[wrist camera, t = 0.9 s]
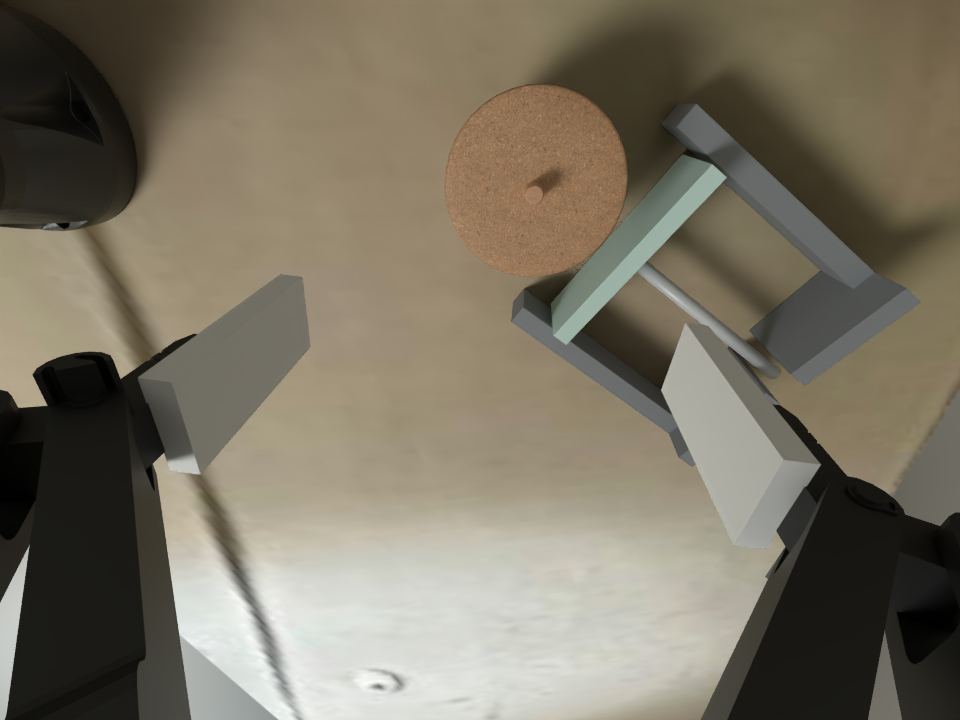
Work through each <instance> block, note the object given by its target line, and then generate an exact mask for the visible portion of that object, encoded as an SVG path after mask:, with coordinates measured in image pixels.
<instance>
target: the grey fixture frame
mask: <svg viewBox="0 0 960 720" xmlns="http://www.w3.org/2000/svg"><path fill="white" fill-rule="evenodd" d="M661 125H662V126H663V127H664V128H665V129H666V130H667V131H668V132H670V133H671V134H672V135H673V136H674V137H675V138H676V139H677V140H678V141H679V142H681V143H682V144H683V145H684V146H685V147H686V148H687V149H688V150H689V151H690V152H692V153H693V154H694V155H695V156H696V157H697V158H698V159H699V160H701V161H704V162H707V163H710V164H713V165H714V166H715V167H716V168H717V169H718V170H719V171H720V172H721V173H722V174H724V175H725V176H726V177H727V178H726V179H725V180H724V181H723V182H724V183H726V184H727V185H728V186H729V187H730V188H731V189H732V190H733V191H734V192H735V193H737V194H738V195H739V196H740V197H741V198H742V199H743V200H744V201H745V202H746V203H748V204H749V205H750V206H751V207H752V208H753V209H754V210H755V211H756V212H757V213H758V214H760V215H761V216H762V217H763V218H764V219H765V220H766V221H767V222H768V223H769V224H771V225H772V226H773V227H774V228H775V229H776V230H777V231H778V232H779V233H780V234H782V235H783V236H784V237H785V238H786V239H787V240H788V241H789V242H790V243H791V244H793V245H794V246H795V247H796V248H797V249H798V250H799V251H800V252H801V253H802V254H804V255H805V256H806V257H807V258H808V259H809V260H810V261H811V262H812V263H813V264H814V265H816V266H817V267H818V268H819V269H820V270H821V271H820V272H819V273H818V274H816V275H815V276H814V277H813V278H812V279H810V280H809V281H808V282H807V283H806V284H804V285H803V286H802V287H801V288H800V289H798V290H797V291H796V292H795V293H794V294H792V295H791V296H790V297H789V298H788V299H786V300H785V301H784V302H783V303H782V304H780V305H779V306H778V307H777V308H776V309H774V310H773V311H772V312H771V313H770V314H768V315H767V316H766V317H765V318H764V319H762V320H761V321H760V322H759V323H758V324H756V325H755V326H754V327H753V328H752V329H750V330H749V331H750V332H751V333H752V334H753V335H754V336H755V337H756V339H757V340H758V341H759V342H760V343H761V344H762V345H763V346H764V347H765V348H766V349H767V350H768V351H769V352H770V353H771V354H772V355H773V356H774V357H775V358H776V360H777V361H778V362H779V363H780V364H781V365H782V366H783V367H784V368H785V369H786V370H787V371H788V372H789V373H790V374H791V375H792V376H793V377H794V378H796V379H797V380H798V381H799V382H801V383H802V384H803V385H804V386H805V385H807V384H808V383H809V382H811V381H812V380H814V379H815V378H816V377H818V376H819V375H821V374H822V373H823V372H825V371H826V370H828V369H829V368H830V367H832V366H833V365H835V364H836V363H837V362H839V361H840V360H842V359H843V358H844V357H846V356H847V355H848V354H850V353H851V352H853V351H854V350H855V349H857V348H858V347H860V346H861V345H862V344H864V343H865V342H867V341H868V340H869V339H871V338H872V337H874V336H875V335H876V334H878V333H879V332H881V331H882V330H883V329H885V328H886V327H888V326H889V325H890V324H892V323H893V322H894V321H896V320H897V319H899V318H900V317H901V316H903V315H904V314H906V313H907V312H908V311H910V310H911V309H913V308H914V307H915V306H917V305H918V304H920V303H921V301H920V300H918V299H917V298H916V297H915V296H914V295H913V294H912V293H911V292H910V291H909V290H908V289H907V288H905V287H903V286H901V285H899V284H897V283H895V282H893V281H891V280H889V279H887V278H885V277H883V276H881V275H879V274H877V273H875V272H874V271H873V270H872V269H870V268H869V267H868V266H867V265H866V264H865V263H864V262H863V261H862V260H861V259H860V258H859V257H858V256H857V255H856V254H855V253H854V252H853V251H851V250H850V249H849V248H848V247H847V246H846V245H845V244H844V243H843V242H842V241H841V240H840V239H839V238H838V237H837V236H836V235H835V234H834V233H832V232H831V231H830V230H829V229H828V228H827V227H826V226H825V225H824V224H823V223H822V222H821V221H820V220H819V219H818V218H817V217H816V216H815V215H813V214H812V213H811V212H810V211H809V210H808V209H807V208H806V207H805V206H804V205H803V204H802V203H801V202H800V201H799V200H798V199H797V198H795V197H794V196H793V195H792V194H791V193H790V192H789V191H788V190H787V189H786V188H785V187H784V186H783V185H782V184H781V183H780V182H779V181H778V180H776V179H775V178H774V177H773V176H772V175H771V174H770V173H769V172H768V171H767V170H766V169H765V168H764V167H763V166H762V165H761V164H760V163H759V162H757V161H756V160H755V159H754V158H753V157H752V156H751V155H750V154H749V153H748V152H747V151H746V150H745V149H744V148H743V147H742V146H741V145H740V144H738V143H737V142H736V141H735V140H734V139H733V138H732V137H731V136H730V135H729V134H728V133H727V132H726V131H725V130H724V129H723V128H722V127H721V126H719V125H718V124H717V123H716V122H715V121H714V120H713V119H712V118H711V117H710V116H709V115H708V114H707V113H706V112H705V111H704V110H703V109H702V108H700V107H699V106H698V105H697V104H677V105H676V106H675V108H674V109H673V110H672V111H671V112H670V114H669V115H668V116H667V117H666V118H665V120H664V121H663V122H662V123H661ZM511 322H513V323H514V324H515V325H517V326H518V327H520V328H521V329H522V330H524V331H525V332H527V333H528V334H529V335H531V336H532V337H534V338H535V339H537V340H538V341H539V342H541V343H542V344H544V345H545V346H546V347H548V348H549V349H551V350H552V351H553V352H555V353H556V354H558V355H559V356H560V357H562V358H563V359H565V360H566V361H568V362H569V363H570V364H572V365H573V366H575V367H576V368H577V369H579V370H580V371H582V372H583V373H584V374H586V375H587V376H589V377H590V378H591V379H593V380H594V381H596V382H597V383H599V384H600V385H601V386H603V387H604V388H606V389H607V390H608V391H610V392H611V393H613V394H614V395H615V396H617V397H618V398H620V399H621V400H622V401H624V402H625V403H627V404H628V405H629V406H631V407H632V408H634V409H635V410H637V411H638V412H639V413H641V414H642V415H644V416H645V417H646V418H648V419H649V420H651V421H652V422H653V423H655V424H656V425H658V426H659V427H660V428H662V429H663V430H665V431H666V432H668V433H669V435H670V437H671V440H672V442H673V444H674V447H675V449H676V452H677V454H678V457H679V458H680V459H682V460H683V461H685V462H686V463H688V464H689V465H690V466H694V465H695V462H694V460H693V457H692V455H691V453H690V451H689V449H688V447H687V445H686V442H685V440H684V438H683V436H682V434H681V432H680V430H679V427H678V425H677V423H676V421H675V419H674V417H673V415H672V413H671V410H670V408H669V406H668V404H667V402H666V400H665V398H664V395H663V393H662V391H661V389H660V388H659V387H657V386H656V385H654V384H653V383H652V382H650V381H649V380H648V379H646V378H645V377H644V376H642V375H641V374H640V373H638V372H637V371H635V370H634V369H633V368H631V367H630V366H629V365H627V364H626V363H625V362H623V361H622V360H620V359H619V358H618V357H616V356H615V355H614V354H612V353H611V352H610V351H608V350H607V349H606V348H604V347H603V346H601V345H600V344H599V343H597V342H596V341H595V340H593V339H592V338H591V337H589V336H588V335H586V334H585V333H584V332H582V331H581V330H580V331H579V332H578V333H577V334H576V335H575V336H574V337H573V338H572V339H571V340H570V341H569V343H568V344H567V345H566V344H564V343H563V342H561V341H560V340H559V339H557V338H556V337H555V336H553V326H552V314H551V308H550V307H548V306H547V305H546V304H544V303H543V302H542V301H540V300H539V299H538V298H536V297H535V296H533V295H532V294H531V293H529V292H528V291H527V290H525V289H524V290H523V291H522V292H521V293H520V294H519V296H518V297H517V298H516V299H515V300H514V302H513V309H512V319H511ZM727 349H728V351H729V352H730V353H731V354H732V355H733V357H734V358H735V359H736V360H737V362H738V363H739V364H740V365H741V367H742V368H743V369H744V370H745V372H746V373H747V374H748V375H749V376H750V378H751V379H752V380H753V381H754V383H755V384H756V385H757V386H758V388H759V389H760V390H761V391H762V393H763V394H764V395H765V396H766V397H767V399H768V400H769V401H770V402H771V404H774V405H779V402H778V401H777V400H776V399H775V398H774V396H773V395H772V394H771V393H770V391H769V390H768V389H767V388H766V387H765V385H764V384H763V383H762V382H761V381H760V379H759V378H758V377H757V376H756V374H755V373H754V372H753V371H752V370H751V368H750V367H749V366H748V365H747V363H746V362H745V361H744V360H743V359H742V357H741V356H739V355H738V354H737V353H736V352H734V351H733V350H732V349H731V348H727Z"/></svg>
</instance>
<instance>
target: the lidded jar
mask: <svg viewBox="0 0 960 720" xmlns="http://www.w3.org/2000/svg"><path fill="white" fill-rule="evenodd" d="M627 185H628V166H627V159H626V154H625V149H624V146H623V143H622V141H621V138H620V136H619V133H618V131H617V130H616V128H615V126H614V125H613V123H612V121H611V120H610V119H609V117H608V116H607V115H606V114H605V113H604V112H603V110H602V109H601V108H600V107H599V106H597V105H596V104H595V103H594V102H593V101H591V100H590V99H589V98H587V97H585V96H584V95H582V94H580V93H578V92H576V91H574V90H571V89H568V88H565V87H562V86H558V85H550V84H529V85H524V86H520V87H516V88H512V89H510V90H507V91H505V92H503V93H500V94H498V95H496V96H495V97H493V98H492V99H490V100H489V101H487V102H486V103H484V104H483V105H482V106H481V107H480V108H479V109H478V110H477V111H476V112H474V113H473V114H472V115H471V117H470V118H469V119H468V121H467V122H466V123H465V124H464V126H463V127H462V129H461V130H460V132H459V134H458V136H457V138H456V139H455V141H454V144H453V147H452V149H451V152H450V155H449V158H448V163H447V168H446V177H445V193H446V202H447V206H448V210H449V214H450V217H451V219H452V222H453V225H454V227H455V229H456V231H457V232H458V234H459V236H460V237H461V239H462V240H463V242H464V243H465V244H466V245H467V247H468V248H469V249H470V250H471V251H472V252H473V253H474V254H475V255H476V256H477V257H478V258H480V259H481V260H483V261H484V262H486V263H487V264H488V265H490V266H492V267H494V268H496V269H498V270H500V271H503V272H506V273H510V274H513V275H519V276H526V277H534V276H546V275H552V274H555V273H559V272H562V271H565V270H567V269H569V268H571V267H573V266H575V265H577V264H579V263H580V262H582V261H583V260H585V259H586V258H588V257H589V256H590V255H591V254H593V253H594V252H595V251H596V250H597V249H598V248H599V247H600V246H601V245H602V244H603V242H604V241H605V240H606V239H607V238H608V236H609V235H610V233H611V232H612V230H613V228H614V227H615V225H616V223H617V221H618V219H619V216H620V214H621V212H622V209H623V206H624V202H625V198H626V194H627Z"/></svg>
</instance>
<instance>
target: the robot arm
mask: <svg viewBox="0 0 960 720" xmlns="http://www.w3.org/2000/svg"><path fill="white" fill-rule="evenodd" d="M135 178H136V156H135V149H134V144H133V140H132V136H131V133H130V129H129V127H128V124H127V121H126V119H125V116H124V114H123V112H122V110H121V107H120V105H119V103H118V102H117V100H116V98H115V96H114V94H113V93H112V91H111V89H110V88H109V86H108V85H107V83H106V82H105V80H104V79H103V78H102V76H101V75H100V74H99V72H98V71H97V70H96V68H95V67H94V66H93V65H92V64H91V62H90V61H89V60H88V59H87V58H86V57H85V56H84V55H83V54H82V53H81V52H80V51H79V50H78V49H77V48H76V47H75V46H74V45H73V44H72V43H71V42H70V41H69V40H67V39H66V38H65V37H64V36H63V35H61V34H60V33H59V32H57V31H56V30H55V29H53V28H52V27H50V26H49V25H47V24H46V23H44V22H42V21H40V20H39V19H37V18H35V17H33V16H31V15H29V14H27V13H24V12H22V11H19V10H16V9H13V8H10V7H5V6H1V5H0V227H9V228H23V229H43V230H52V231H68V230H76V229H81V228H85V227H88V226H92V225H96V224H99V223H103V222H105V221H108V220H110V219H112V218H113V217H115V216H116V215H117V214H118V213H120V212H121V211H122V209H123V208H124V207H125V206H126V204H127V203H128V201H129V199H130V197H131V195H132V192H133V189H134V184H135ZM309 348H310V339H309V330H308V321H307V313H306V304H305V295H304V287H303V278H302V277H298V276H289V275H281V274H280V275H279V276H278V277H276V278H275V279H274V280H272V281H271V282H269V283H268V284H267V285H265V286H264V287H262V288H261V289H260V290H258V291H257V292H256V293H254V294H253V295H251V296H250V297H249V298H247V299H246V300H244V301H243V302H242V303H240V304H239V305H238V306H236V307H235V308H233V309H232V310H231V311H229V312H228V313H226V314H225V315H224V316H222V317H221V318H220V319H218V320H217V321H215V322H214V323H213V324H211V325H210V326H208V327H207V328H206V329H204V330H203V331H201V332H200V333H199V334H192V335H190V336H187V337H185V338H182V339H180V340H177V341H175V342H173V343H172V344H171V345H169V346H168V347H166V348H165V349H163V350H162V352H161V353H158V354H156V355H155V356H153V357H152V358H150V361H146V362H145V363H143V364H142V365H140V366H139V367H137V368H136V369H135V370H133V371H132V372H130V373H129V374H127V375H126V376H124V377H123V378H122V379H120V377H119V374H118V371H117V369H116V366H115V364H114V361H113V359H112V357H111V356H110V355H108V354H105V353H102V352H81V353H74V354H70V355H65V356H61V357H58V358H56V359H53V360H51V361H48V362H46V363H45V364H43V365H41V366H40V367H38V368H37V369H36V371H35V372H34V373H33V377H34V379H35V381H36V383H37V385H38V387H39V389H40V391H41V393H42V395H43V397H44V399H45V401H46V403H47V405H48V406H40V407H26V408H18V407H17V405H16V403H15V401H14V399H13V397H12V396H11V395H10V394H9V392H7V391H3V390H0V602H1V600H2V598H3V596H4V594H5V592H6V590H7V588H8V586H9V584H10V582H11V580H12V578H13V576H14V574H15V572H16V570H17V568H18V566H19V564H20V562H21V560H22V558H23V556H24V554H25V552H26V550H27V548H28V547H29V545H30V548H29V554H28V561H27V569H26V576H25V584H24V591H23V598H22V605H21V613H20V620H19V628H18V635H17V643H16V650H15V657H14V664H13V672H12V679H11V686H10V694H9V701H8V708H7V714H6V718H5V720H191V715H190V709H189V701H188V694H187V688H186V680H185V673H184V666H183V659H182V652H181V645H180V637H179V630H178V623H177V616H176V609H175V602H174V595H173V588H172V581H171V574H170V567H169V560H168V552H167V545H166V538H165V531H164V524H163V517H162V510H161V503H160V496H159V489H158V482H157V475H156V472H155V469H154V466H153V463H154V462H155V461H156V460H157V459H158V458H159V457H160V456H161V455H162V454H163V453H164V454H165V457H166V460H167V462H168V465H169V468H170V471H178V472H185V473H193V474H201V473H202V472H203V471H204V470H205V469H206V467H207V466H208V465H209V464H210V463H211V462H212V461H213V459H214V458H215V457H216V456H217V455H218V454H219V452H220V451H221V450H222V449H223V448H224V447H225V445H226V444H227V443H228V442H229V441H230V440H231V438H232V437H233V436H234V435H235V434H236V433H237V431H238V430H239V429H240V428H241V427H242V426H243V425H244V423H245V422H246V421H247V420H248V419H249V418H250V416H251V415H252V414H253V413H254V412H255V411H256V409H257V408H258V407H259V406H260V405H261V404H262V402H263V401H264V400H265V399H266V398H267V397H268V396H269V394H270V393H271V392H272V391H273V390H274V389H275V387H276V386H277V385H278V384H279V383H280V382H281V380H282V379H283V378H284V377H285V376H286V375H287V373H288V372H289V371H290V370H291V369H292V368H293V366H294V365H295V364H296V363H297V362H298V361H299V360H300V358H301V357H302V356H303V355H304V354H305V353H306V351H307V350H308V349H309ZM661 391H662V393H663V395H664V398H665V400H666V402H667V404H668V406H669V408H670V410H671V413H672V415H673V417H674V419H675V421H676V423H677V425H678V427H679V430H680V432H681V434H682V436H683V438H684V440H685V442H686V445H687V447H688V449H689V451H690V453H691V455H692V457H693V460H694V462H695V464H696V466H697V468H698V470H699V472H700V474H701V477H702V479H703V481H704V483H705V485H706V487H707V489H708V492H709V494H710V496H711V498H712V500H713V502H714V504H715V507H716V509H717V511H718V513H719V515H720V517H721V519H722V521H723V524H724V526H725V528H726V530H727V532H728V534H729V536H730V539H731V541H732V543H733V545H735V546H743V547H751V548H758V549H767V547H768V545H769V544H770V542H771V541H772V539H773V538H774V536H775V535H776V533H778V534H779V536H780V538H781V539H782V541H783V543H784V545H785V546H786V547H785V548H784V550H783V551H782V553H781V554H780V556H779V557H778V559H777V560H776V562H775V563H774V565H773V566H772V568H771V569H770V570H769V572H768V573H767V575H766V576H765V577H766V578H768V580H767V583H766V585H765V587H764V589H763V591H762V593H761V595H760V597H759V599H758V601H757V603H756V606H755V608H754V610H753V612H752V614H751V616H750V618H749V620H748V622H747V624H746V626H745V628H744V631H743V633H742V635H741V637H740V639H739V641H738V643H737V645H736V647H735V649H734V651H733V654H732V656H731V658H730V660H729V662H728V664H727V666H726V668H725V670H724V672H723V674H722V677H721V679H720V681H719V683H718V685H717V687H716V689H715V691H714V693H713V695H712V697H711V699H710V702H709V704H708V706H707V708H706V710H705V712H704V714H703V716H702V718H701V720H868V716H869V710H870V705H871V700H872V694H873V689H874V684H875V678H876V673H877V668H878V662H879V657H880V652H881V646H882V641H883V635H884V630H885V633H886V639H887V644H888V649H889V654H890V659H891V664H892V669H893V674H894V680H895V685H896V690H897V695H898V700H899V706H900V710H901V716H902V720H960V513H954V514H952V515H951V516H949V517H948V518H947V519H946V520H945V522H944V523H943V524H942V525H941V526H938V525H935V524H932V523H929V522H926V521H923V520H920V519H917V518H914V517H911V516H908V515H905V513H904V510H903V508H901V506H900V505H899V503H898V502H897V501H896V500H895V499H894V498H892V497H891V496H890V495H889V494H887V493H886V492H885V491H883V490H881V489H880V488H878V487H876V486H874V485H873V484H871V483H868V482H866V481H863V480H861V479H858V478H854V477H848V476H847V475H846V474H845V473H844V472H843V471H842V470H841V468H840V467H839V466H838V465H837V464H836V463H835V461H834V460H833V459H832V458H831V457H830V455H829V454H828V453H827V452H826V451H825V450H824V448H823V447H822V446H821V445H820V444H817V440H816V439H815V438H814V437H813V436H812V434H811V433H808V430H807V429H806V427H805V426H804V425H803V424H802V423H801V422H800V420H799V419H798V418H797V417H796V416H794V415H793V414H791V413H790V412H789V411H787V410H786V409H784V408H783V407H782V406H780V405H774V404H771V402H770V401H769V400H768V399H767V397H766V396H765V395H764V394H763V393H762V391H761V390H760V389H759V388H758V386H757V385H756V384H755V383H754V381H753V380H752V379H751V378H750V376H749V375H748V374H747V373H746V372H745V370H744V369H743V368H742V367H741V365H740V364H739V363H738V362H737V360H736V359H735V358H734V357H733V355H732V354H731V353H730V352H729V351H728V349H727V348H726V347H725V346H724V344H723V343H722V342H721V341H720V339H719V338H718V337H717V336H716V334H715V333H714V332H713V331H712V330H711V328H710V327H709V326H707V325H699V324H690V323H685V326H684V328H683V331H682V334H681V337H680V339H679V342H678V345H677V348H676V351H675V353H674V356H673V359H672V362H671V364H670V367H669V370H668V373H667V375H666V378H665V381H664V384H663V386H662V389H661Z"/></svg>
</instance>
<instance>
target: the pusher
mask: <svg viewBox="0 0 960 720" xmlns="http://www.w3.org/2000/svg"><path fill="white" fill-rule="evenodd" d="M726 178H727V177H726V176H725V175H724V174H722V173H721V172H720V171H719V170H718V169H717V168H716V167H715V166H714V165H713V164H710V163H707V162H704V161H701V160H698V159H695V158H692V157H689V156H686V155H683V154H682V155H681V156H680V158H679V159H678V160H677V161H676V162H675V163H674V164H673V165H672V167H671V168H670V169H669V170H668V171H667V172H666V173H665V175H664V176H663V177H662V178H661V179H660V180H659V181H658V182H657V184H656V185H655V186H654V187H653V188H652V189H651V190H650V192H649V193H648V194H647V195H646V196H645V197H644V198H643V199H642V201H641V202H640V203H639V204H638V205H637V206H636V207H635V208H634V210H633V211H632V212H631V213H630V214H629V215H628V216H627V218H626V219H625V220H624V221H623V222H622V223H621V224H620V225H619V227H618V228H617V229H616V230H615V231H614V232H613V233H612V235H611V236H610V237H609V238H608V239H607V240H606V241H605V242H604V244H603V245H602V246H601V247H600V248H599V249H598V250H597V252H596V253H595V254H594V255H593V256H592V257H591V258H590V259H589V261H588V262H587V263H586V264H585V265H584V266H583V267H582V269H581V270H580V271H579V272H578V273H577V274H576V275H575V276H574V278H573V279H572V280H571V281H570V282H569V283H568V284H567V285H566V287H565V288H564V289H563V290H562V291H561V292H560V293H559V295H558V296H557V297H556V298H555V299H554V300H553V301H552V302H551V314H552V326H553V336H555V337H556V338H557V339H559V340H560V341H561V342H563V343H564V344H566V345H567V344H568V343H569V341H570V340H571V339H572V338H573V337H574V336H575V335H576V334H577V333H578V332H579V331H580V330H581V329H582V328H583V327H584V326H585V325H586V324H587V323H588V322H589V321H590V320H591V319H592V318H593V316H594V315H595V314H596V313H597V312H598V311H599V310H600V309H601V308H602V307H603V306H604V305H605V304H606V303H607V302H608V301H609V300H610V299H611V298H612V297H613V296H614V295H615V294H616V293H617V291H618V290H619V289H620V288H621V287H622V286H623V285H624V284H625V283H626V282H627V281H628V280H629V279H630V278H631V277H632V276H633V275H634V274H635V273H636V272H637V273H638V274H640V275H641V276H642V277H643V278H645V279H646V280H647V281H648V282H650V283H651V284H652V285H653V286H655V287H656V288H657V289H658V290H660V291H661V292H662V293H663V294H665V295H666V296H667V297H668V298H670V299H671V300H672V301H673V302H675V303H676V304H677V305H678V306H680V307H681V308H682V309H683V310H685V311H686V312H687V313H688V314H690V315H691V316H692V317H693V318H695V319H696V320H697V321H698V322H700V323H701V324H702V325H707V326H709V327H710V328H711V330H712V331H713V332H714V333H715V334H716V336H717V337H718V338H720V339H721V340H722V341H723V342H725V343H726V344H727V345H728V346H730V347H731V348H732V349H733V350H735V351H736V352H737V353H738V354H740V355H741V356H742V357H743V358H745V359H746V360H747V361H748V362H750V363H751V364H752V365H753V366H755V367H756V368H757V369H758V370H760V371H761V372H762V373H763V374H765V375H766V376H767V377H768V378H770V379H773V378H776V377H777V376H778V375H779V374H780V369H779V368H778V367H776V366H775V365H774V364H773V363H772V362H770V361H769V360H768V359H767V358H765V357H764V356H763V355H762V354H760V353H759V352H758V351H757V350H756V349H754V348H753V347H752V346H751V345H749V344H748V343H747V342H746V341H744V340H743V339H742V338H741V337H740V336H738V335H737V334H736V333H735V332H733V331H732V330H731V329H730V328H728V327H727V326H726V325H725V324H724V323H722V322H721V321H720V320H719V319H717V318H716V317H715V316H714V315H712V314H711V313H710V312H709V311H708V310H706V309H705V308H704V307H703V306H701V305H700V304H699V303H698V302H696V301H695V300H694V299H693V298H692V297H690V296H689V295H688V294H687V293H685V292H684V291H683V290H682V289H680V288H679V287H678V286H677V285H676V284H674V283H673V282H672V281H671V280H669V279H668V278H667V277H666V276H665V275H663V274H662V273H661V272H660V271H658V270H657V269H656V268H655V267H653V266H652V265H651V264H650V263H649V262H647V260H648V259H649V258H650V257H651V256H652V255H653V254H654V253H655V252H656V251H657V250H658V249H659V248H660V247H661V246H662V245H663V244H664V243H665V241H666V240H667V239H668V238H669V237H670V236H671V235H672V234H673V233H674V232H675V231H676V230H677V229H678V228H679V227H680V226H681V225H682V224H683V223H684V222H685V221H686V220H687V219H688V218H689V216H690V215H691V214H692V213H693V212H694V211H695V210H696V209H697V208H698V207H699V206H700V205H701V204H702V203H703V202H704V201H705V200H706V199H707V198H708V197H709V196H710V195H711V194H712V193H713V191H714V190H715V189H716V188H717V187H718V186H719V185H720V184H721V183H722V182H723V181H724V180H725V179H726Z"/></svg>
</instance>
